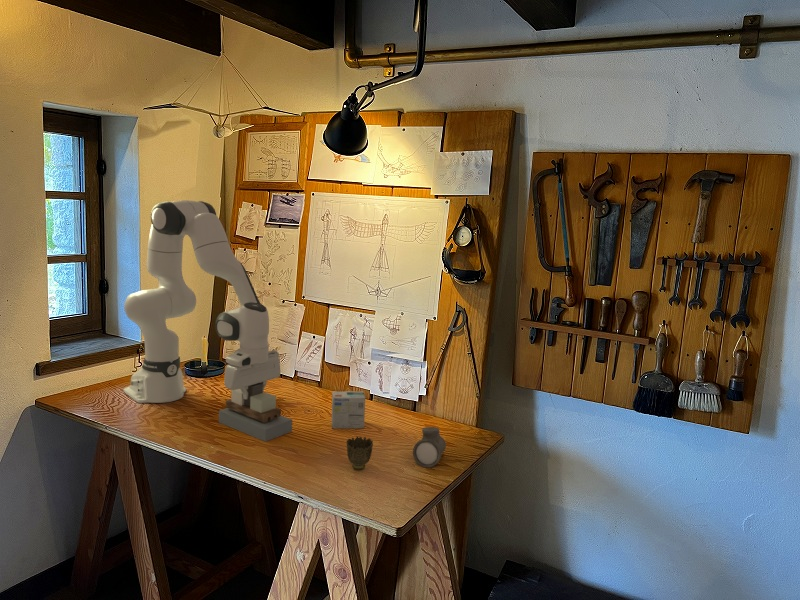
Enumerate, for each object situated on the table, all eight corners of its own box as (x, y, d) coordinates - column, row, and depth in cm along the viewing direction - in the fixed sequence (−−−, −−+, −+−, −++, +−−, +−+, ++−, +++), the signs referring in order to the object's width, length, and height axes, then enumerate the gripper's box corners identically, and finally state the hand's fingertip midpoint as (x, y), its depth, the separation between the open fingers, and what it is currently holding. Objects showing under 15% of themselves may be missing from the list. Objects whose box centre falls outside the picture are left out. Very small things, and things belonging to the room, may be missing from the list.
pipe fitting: (438, 470, 176) (439, 434, 175) (411, 466, 179) (412, 430, 178) (450, 458, 187) (451, 424, 187) (425, 455, 190) (426, 422, 189)
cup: (345, 462, 178) (346, 435, 177) (371, 462, 179) (372, 436, 177) (345, 474, 171) (346, 446, 169) (372, 474, 172) (373, 447, 170)
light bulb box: (362, 421, 210) (364, 390, 208) (364, 428, 203) (366, 397, 201) (330, 421, 208) (331, 390, 206) (331, 429, 201) (333, 397, 200)
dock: (218, 422, 201) (218, 410, 200) (245, 413, 210) (245, 402, 209) (265, 441, 189) (265, 429, 188) (291, 431, 198) (292, 419, 197)
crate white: (231, 401, 200) (231, 389, 200) (245, 397, 205) (246, 385, 204) (241, 405, 197) (241, 393, 197) (256, 401, 202) (256, 389, 201)
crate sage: (250, 408, 195) (250, 396, 194) (264, 404, 200) (265, 392, 199) (261, 413, 192) (261, 400, 192) (275, 408, 197) (275, 396, 196)
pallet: (225, 407, 201) (226, 379, 200) (242, 402, 207) (243, 375, 205) (263, 422, 191) (264, 393, 189) (280, 416, 197) (281, 388, 195)
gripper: (272, 346, 206) (270, 386, 208) (221, 358, 189) (221, 401, 192) (285, 350, 202) (284, 391, 205) (235, 363, 186) (234, 407, 188)
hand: (253, 396), depth 198 cm, fingers closed on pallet, 4 cm apart
